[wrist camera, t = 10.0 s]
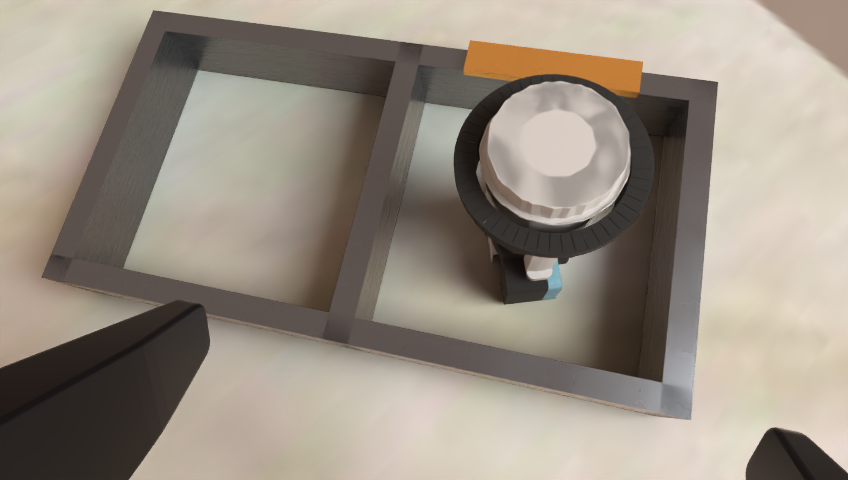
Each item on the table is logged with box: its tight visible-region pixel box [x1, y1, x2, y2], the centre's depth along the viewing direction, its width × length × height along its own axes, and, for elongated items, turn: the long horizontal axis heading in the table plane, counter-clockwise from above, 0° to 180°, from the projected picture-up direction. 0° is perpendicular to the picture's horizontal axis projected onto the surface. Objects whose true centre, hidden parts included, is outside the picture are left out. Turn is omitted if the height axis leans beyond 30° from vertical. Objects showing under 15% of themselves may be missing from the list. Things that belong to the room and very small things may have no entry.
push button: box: [454, 74, 655, 304], centre depth 18 cm, size 7×5×10 cm
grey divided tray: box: [42, 10, 718, 420], centre depth 22 cm, size 13×25×3 cm, turn 78°
